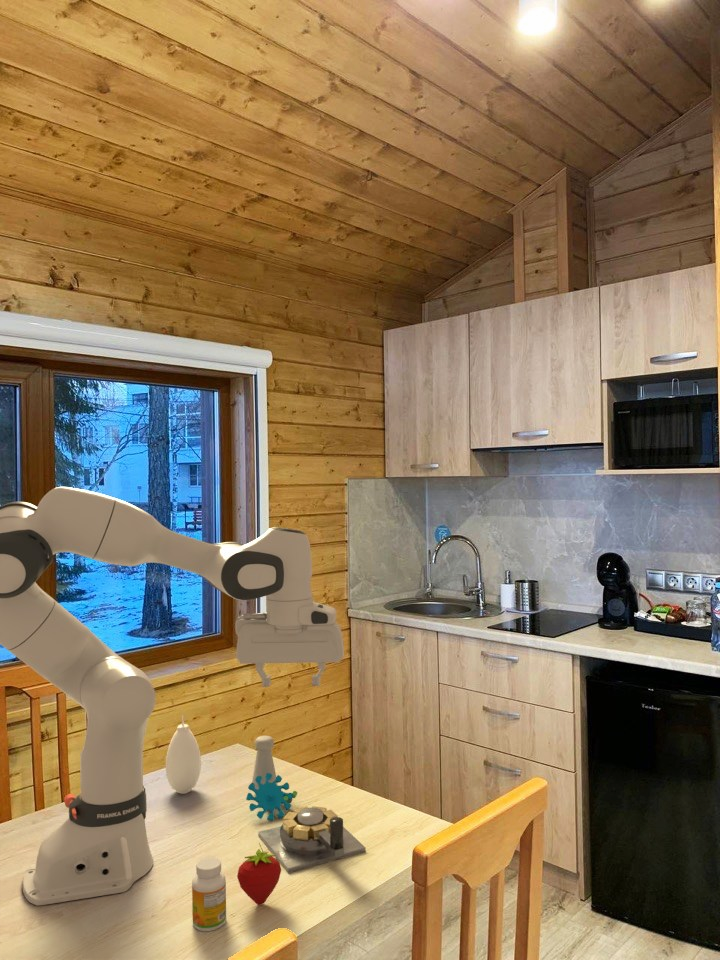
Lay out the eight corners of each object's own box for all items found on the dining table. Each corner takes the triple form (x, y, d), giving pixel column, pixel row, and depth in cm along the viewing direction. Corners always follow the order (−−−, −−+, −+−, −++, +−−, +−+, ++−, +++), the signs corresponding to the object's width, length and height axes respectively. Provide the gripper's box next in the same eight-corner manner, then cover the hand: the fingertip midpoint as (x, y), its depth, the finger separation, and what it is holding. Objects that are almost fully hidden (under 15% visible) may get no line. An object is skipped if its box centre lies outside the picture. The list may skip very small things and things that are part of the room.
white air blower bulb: (196, 799, 169) (195, 719, 169) (161, 799, 170) (160, 719, 169) (204, 785, 177) (203, 708, 177) (172, 785, 177) (170, 708, 177)
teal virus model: (248, 818, 156) (246, 771, 163) (242, 829, 160) (241, 783, 167) (299, 818, 160) (296, 771, 167) (293, 829, 163) (290, 783, 170)
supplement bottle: (190, 916, 125) (189, 858, 125) (222, 909, 127) (222, 852, 126) (195, 935, 120) (194, 874, 120) (229, 927, 122) (228, 867, 121)
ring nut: (313, 864, 135) (313, 829, 135) (276, 822, 151) (275, 791, 151) (365, 850, 139) (364, 816, 139) (323, 811, 156) (323, 780, 156)
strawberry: (233, 900, 129) (232, 842, 129) (275, 889, 132) (274, 833, 132) (243, 919, 124) (242, 858, 124) (286, 907, 127) (285, 848, 127)
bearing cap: (288, 872, 138) (287, 840, 138) (258, 835, 152) (258, 806, 152) (365, 851, 145) (365, 820, 145) (330, 818, 160) (329, 789, 159)
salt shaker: (250, 790, 174) (249, 734, 174) (274, 787, 176) (274, 731, 175) (254, 801, 168) (253, 743, 168) (279, 797, 170) (279, 740, 170)
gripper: (231, 616, 140) (233, 691, 140) (342, 615, 139) (343, 689, 139) (238, 610, 146) (239, 681, 146) (343, 608, 146) (345, 680, 146)
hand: (291, 685), depth 143 cm, fingers open, 8 cm apart
